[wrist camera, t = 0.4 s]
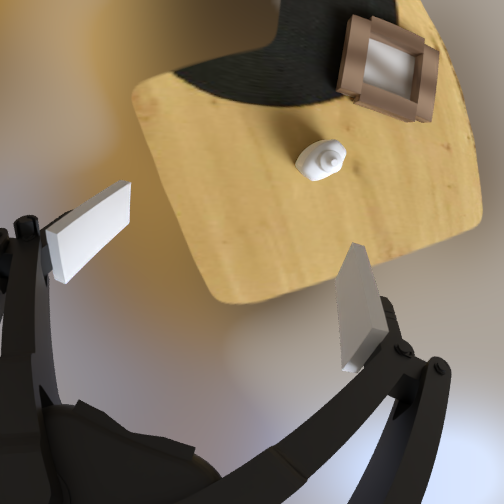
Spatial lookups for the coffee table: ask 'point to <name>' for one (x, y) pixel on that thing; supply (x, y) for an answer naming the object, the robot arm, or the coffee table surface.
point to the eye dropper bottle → (321, 159)
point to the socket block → (388, 70)
